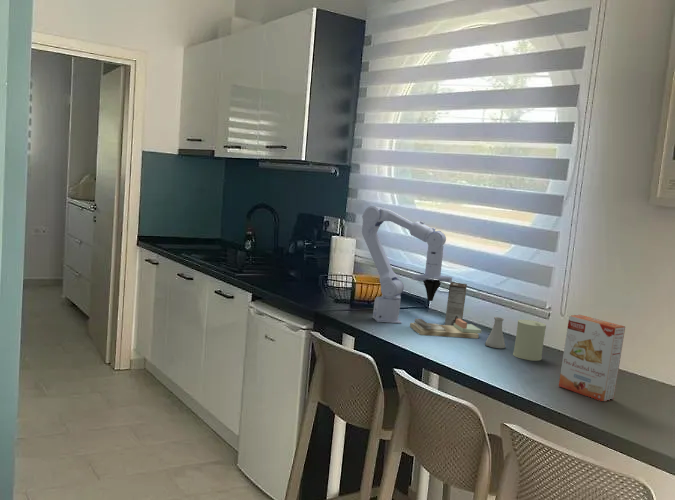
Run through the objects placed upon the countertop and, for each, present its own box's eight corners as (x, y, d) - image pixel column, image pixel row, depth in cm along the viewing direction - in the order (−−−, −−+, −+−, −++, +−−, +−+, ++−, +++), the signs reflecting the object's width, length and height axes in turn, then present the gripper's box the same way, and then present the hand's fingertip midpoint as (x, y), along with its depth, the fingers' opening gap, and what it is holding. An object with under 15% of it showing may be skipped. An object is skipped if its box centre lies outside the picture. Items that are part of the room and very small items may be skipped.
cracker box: (557, 387, 196) (568, 314, 194) (569, 384, 200) (579, 313, 198) (603, 403, 185) (615, 326, 183) (614, 400, 189) (626, 325, 187)
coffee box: (445, 321, 273) (450, 281, 271) (461, 324, 271) (467, 283, 270) (444, 326, 264) (449, 284, 262) (461, 328, 262) (466, 287, 261)
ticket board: (420, 334, 244) (421, 325, 244) (409, 326, 256) (410, 317, 255) (478, 338, 249) (479, 329, 248) (465, 330, 260) (466, 321, 260)
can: (526, 361, 223) (531, 324, 221) (507, 353, 231) (511, 318, 229) (547, 360, 227) (552, 324, 226) (527, 352, 235) (532, 318, 234)
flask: (507, 346, 241) (511, 318, 240) (503, 350, 234) (507, 321, 233) (487, 342, 244) (490, 314, 243) (482, 346, 237) (486, 317, 236)
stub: (462, 332, 249) (463, 323, 248) (453, 326, 257) (454, 317, 257) (481, 333, 250) (482, 324, 250) (471, 327, 259) (472, 319, 259)
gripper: (418, 264, 249) (414, 301, 250) (456, 266, 252) (452, 303, 253) (412, 261, 256) (408, 297, 257) (449, 264, 259) (445, 299, 260)
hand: (429, 300), depth 256 cm, fingers closed
